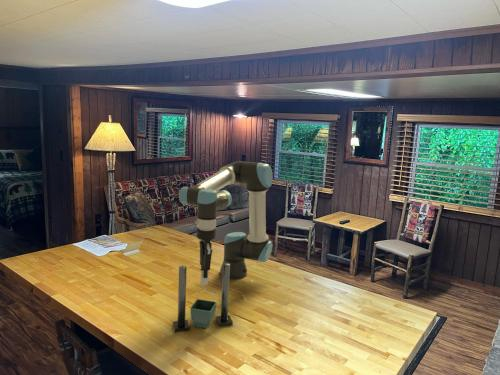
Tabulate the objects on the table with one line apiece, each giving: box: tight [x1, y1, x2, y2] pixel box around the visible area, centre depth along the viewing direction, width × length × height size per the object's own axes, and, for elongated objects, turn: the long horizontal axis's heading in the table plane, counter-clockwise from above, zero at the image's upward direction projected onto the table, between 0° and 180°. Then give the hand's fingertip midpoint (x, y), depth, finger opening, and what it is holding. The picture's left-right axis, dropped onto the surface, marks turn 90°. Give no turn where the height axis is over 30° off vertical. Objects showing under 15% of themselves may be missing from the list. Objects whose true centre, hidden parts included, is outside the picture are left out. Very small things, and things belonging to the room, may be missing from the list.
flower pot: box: [189, 298, 217, 329], centre depth 160 cm, size 9×9×9 cm
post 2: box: [214, 262, 234, 328], centre depth 162 cm, size 6×6×26 cm
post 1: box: [172, 265, 191, 333], centre depth 156 cm, size 6×6×26 cm
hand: (204, 284), depth 158 cm, fingers closed
